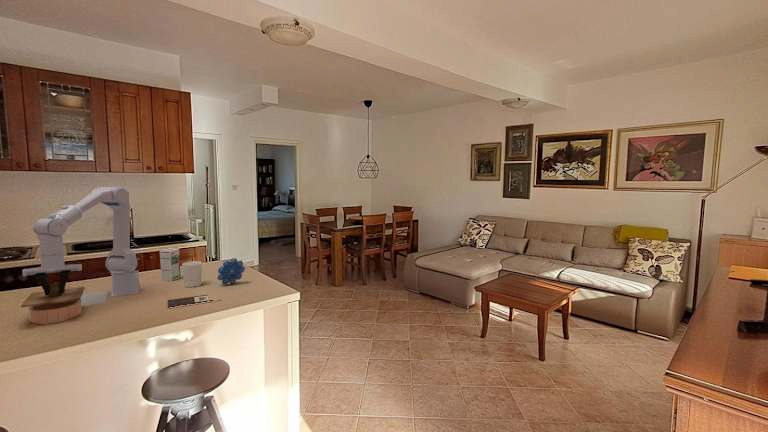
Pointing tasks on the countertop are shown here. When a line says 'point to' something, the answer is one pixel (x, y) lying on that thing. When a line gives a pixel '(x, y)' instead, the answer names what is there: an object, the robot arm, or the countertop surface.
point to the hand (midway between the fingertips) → (55, 293)
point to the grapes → (231, 271)
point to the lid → (53, 295)
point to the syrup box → (170, 264)
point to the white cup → (192, 273)
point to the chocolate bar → (187, 300)
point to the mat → (93, 298)
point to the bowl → (54, 312)
